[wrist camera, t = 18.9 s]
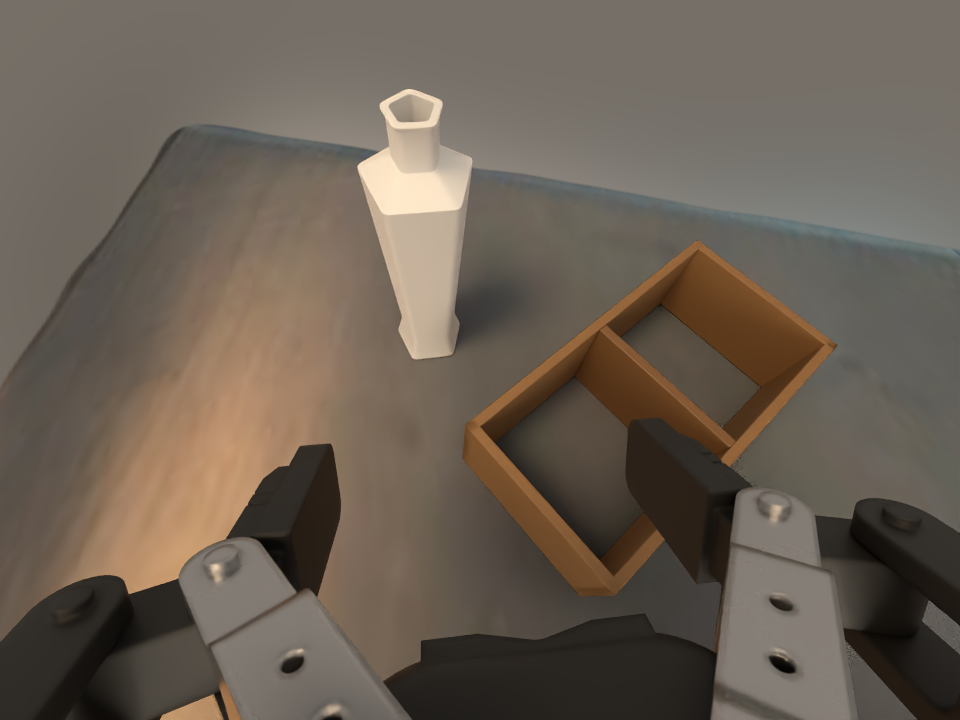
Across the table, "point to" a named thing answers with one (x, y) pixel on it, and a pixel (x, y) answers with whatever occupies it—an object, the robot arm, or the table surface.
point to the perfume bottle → (420, 219)
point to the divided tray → (650, 398)
